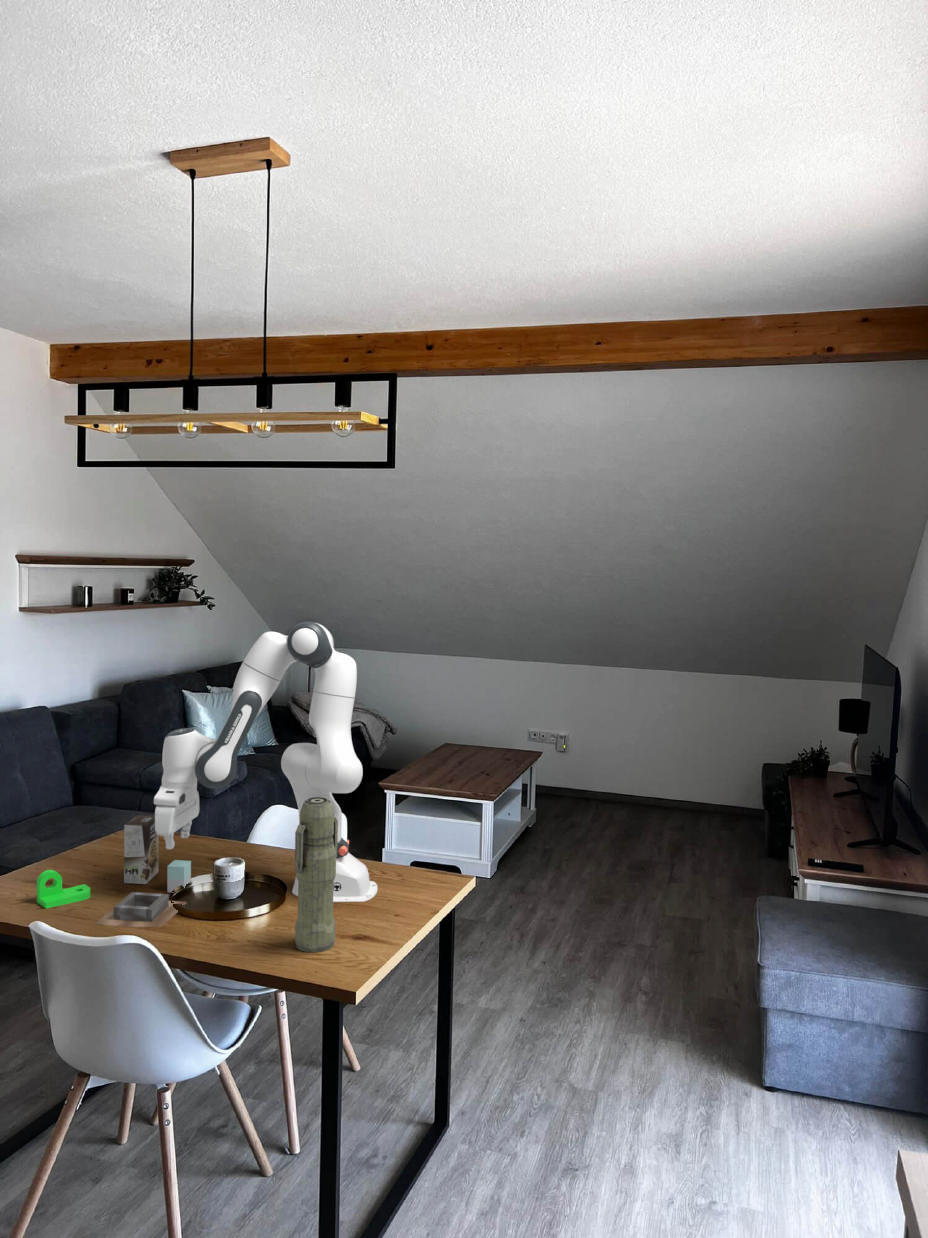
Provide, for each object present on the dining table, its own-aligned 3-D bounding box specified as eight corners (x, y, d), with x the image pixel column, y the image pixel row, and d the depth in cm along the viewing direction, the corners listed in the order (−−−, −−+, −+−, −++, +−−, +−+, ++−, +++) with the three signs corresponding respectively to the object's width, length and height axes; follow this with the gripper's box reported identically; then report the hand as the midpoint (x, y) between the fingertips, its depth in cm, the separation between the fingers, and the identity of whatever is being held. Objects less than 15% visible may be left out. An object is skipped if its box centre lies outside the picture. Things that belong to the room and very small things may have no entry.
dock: (186, 905, 228) (186, 890, 228) (159, 933, 213) (159, 916, 212) (125, 901, 230) (125, 886, 230) (93, 928, 214) (93, 912, 214)
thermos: (346, 946, 208) (349, 797, 205) (314, 967, 198) (317, 809, 195) (315, 937, 213) (318, 790, 210) (282, 957, 202) (284, 803, 199)
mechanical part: (46, 911, 223) (45, 879, 223) (36, 903, 228) (36, 872, 227) (94, 898, 232) (94, 868, 231) (84, 891, 236) (84, 861, 235)
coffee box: (147, 884, 241) (147, 825, 240) (123, 883, 242) (123, 824, 240) (159, 872, 250) (159, 815, 249) (136, 871, 251) (136, 814, 249)
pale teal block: (190, 886, 241) (190, 861, 240) (184, 893, 236) (184, 867, 236) (174, 885, 241) (174, 860, 241) (167, 892, 237) (167, 866, 236)
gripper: (183, 780, 248) (182, 830, 248) (150, 799, 227) (149, 854, 228) (206, 782, 247) (204, 832, 248) (174, 801, 227) (173, 856, 228)
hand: (177, 842), depth 238 cm, fingers open, 8 cm apart
